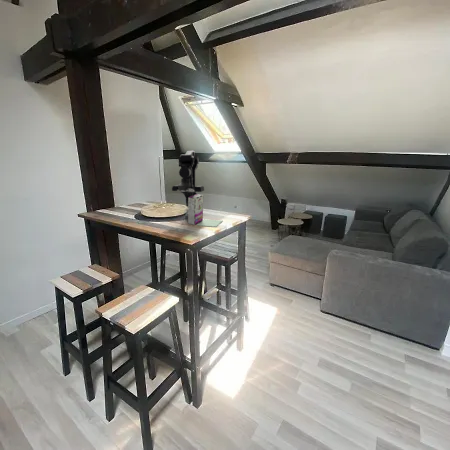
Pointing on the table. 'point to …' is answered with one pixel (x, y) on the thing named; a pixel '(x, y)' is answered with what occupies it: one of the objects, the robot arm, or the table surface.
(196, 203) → the candy bar box
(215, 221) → the mat
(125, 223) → the table surface
